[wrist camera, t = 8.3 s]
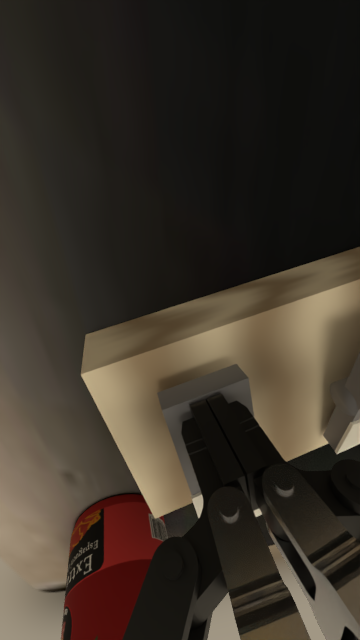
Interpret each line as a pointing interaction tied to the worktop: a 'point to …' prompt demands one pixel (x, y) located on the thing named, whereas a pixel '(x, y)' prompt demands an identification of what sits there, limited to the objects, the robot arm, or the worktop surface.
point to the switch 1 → (178, 410)
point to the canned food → (109, 566)
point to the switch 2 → (345, 412)
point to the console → (223, 351)
